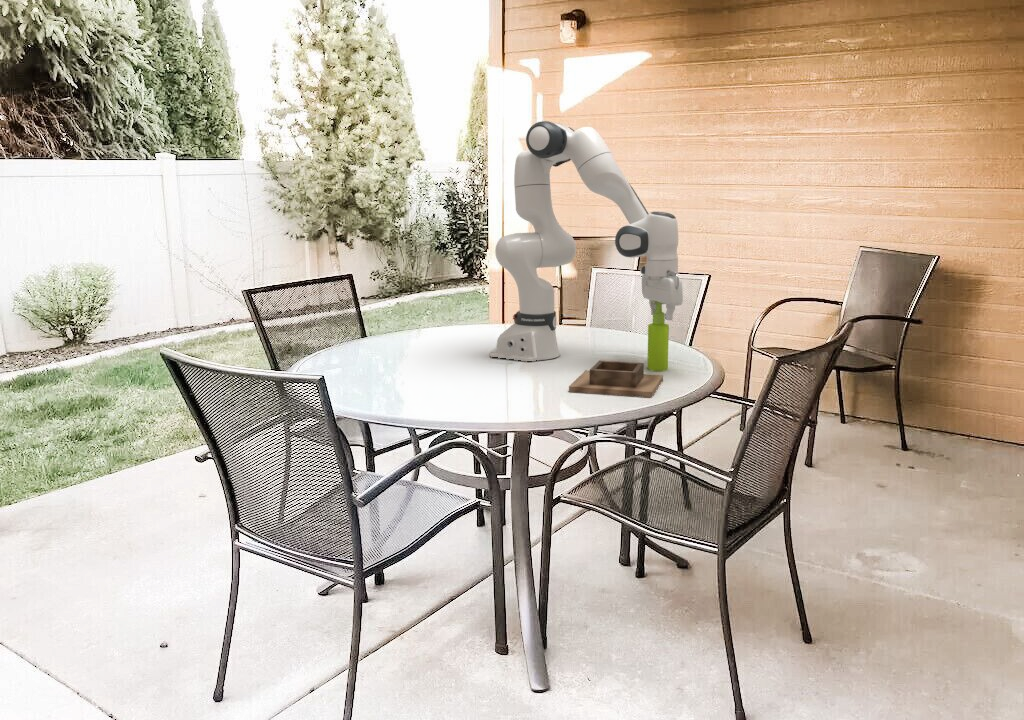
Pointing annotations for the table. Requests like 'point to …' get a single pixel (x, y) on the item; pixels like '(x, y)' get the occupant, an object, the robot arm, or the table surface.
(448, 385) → the table surface
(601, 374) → the caddy
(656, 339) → the soap dispenser
